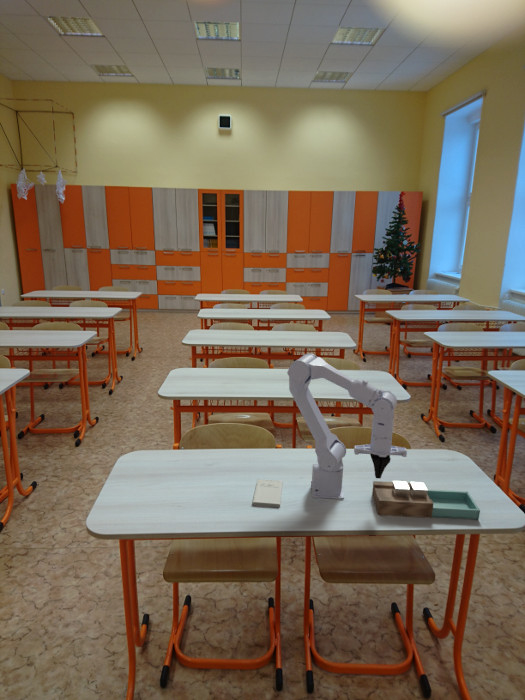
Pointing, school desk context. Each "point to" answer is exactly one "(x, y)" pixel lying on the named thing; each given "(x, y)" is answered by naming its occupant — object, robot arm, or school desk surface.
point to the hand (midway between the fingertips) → (377, 476)
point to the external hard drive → (268, 493)
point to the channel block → (399, 502)
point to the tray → (453, 504)
